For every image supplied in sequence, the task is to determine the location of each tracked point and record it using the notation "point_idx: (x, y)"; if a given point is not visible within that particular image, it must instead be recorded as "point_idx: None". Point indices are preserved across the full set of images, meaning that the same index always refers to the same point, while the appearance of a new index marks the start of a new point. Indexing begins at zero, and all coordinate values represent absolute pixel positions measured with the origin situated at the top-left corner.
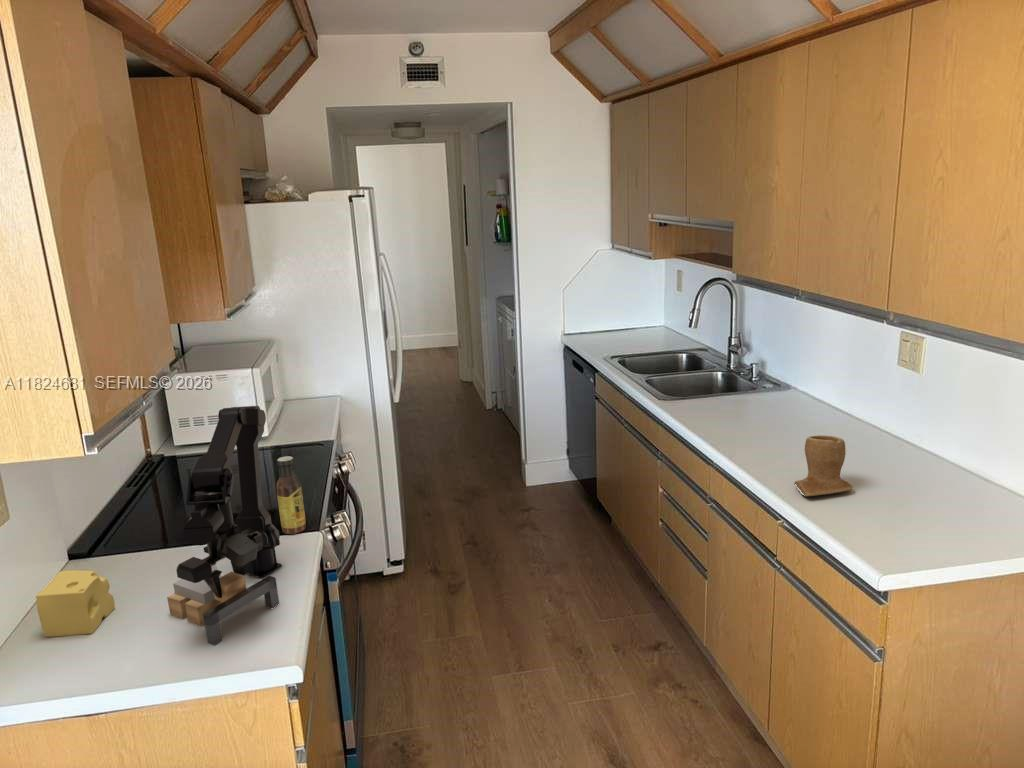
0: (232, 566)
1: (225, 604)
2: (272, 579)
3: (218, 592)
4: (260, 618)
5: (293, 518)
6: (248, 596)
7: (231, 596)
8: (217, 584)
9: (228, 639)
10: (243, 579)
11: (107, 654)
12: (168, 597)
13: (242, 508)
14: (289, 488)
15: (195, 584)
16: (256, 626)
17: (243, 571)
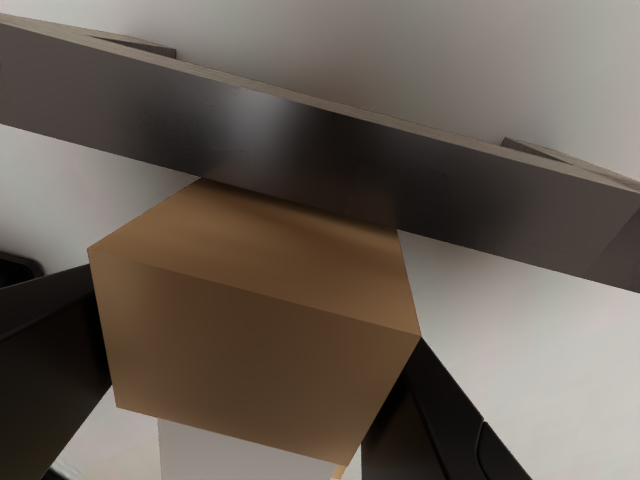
0: (53, 455)
1: (494, 203)
2: None
3: (425, 343)
4: (273, 59)
5: None
6: (274, 92)
7: (350, 229)
8: (479, 442)
9: (494, 112)
10: (142, 231)
11: (567, 452)
12: (340, 475)
13: None
14: None
15: (281, 468)
16: (351, 23)
17: (31, 303)
